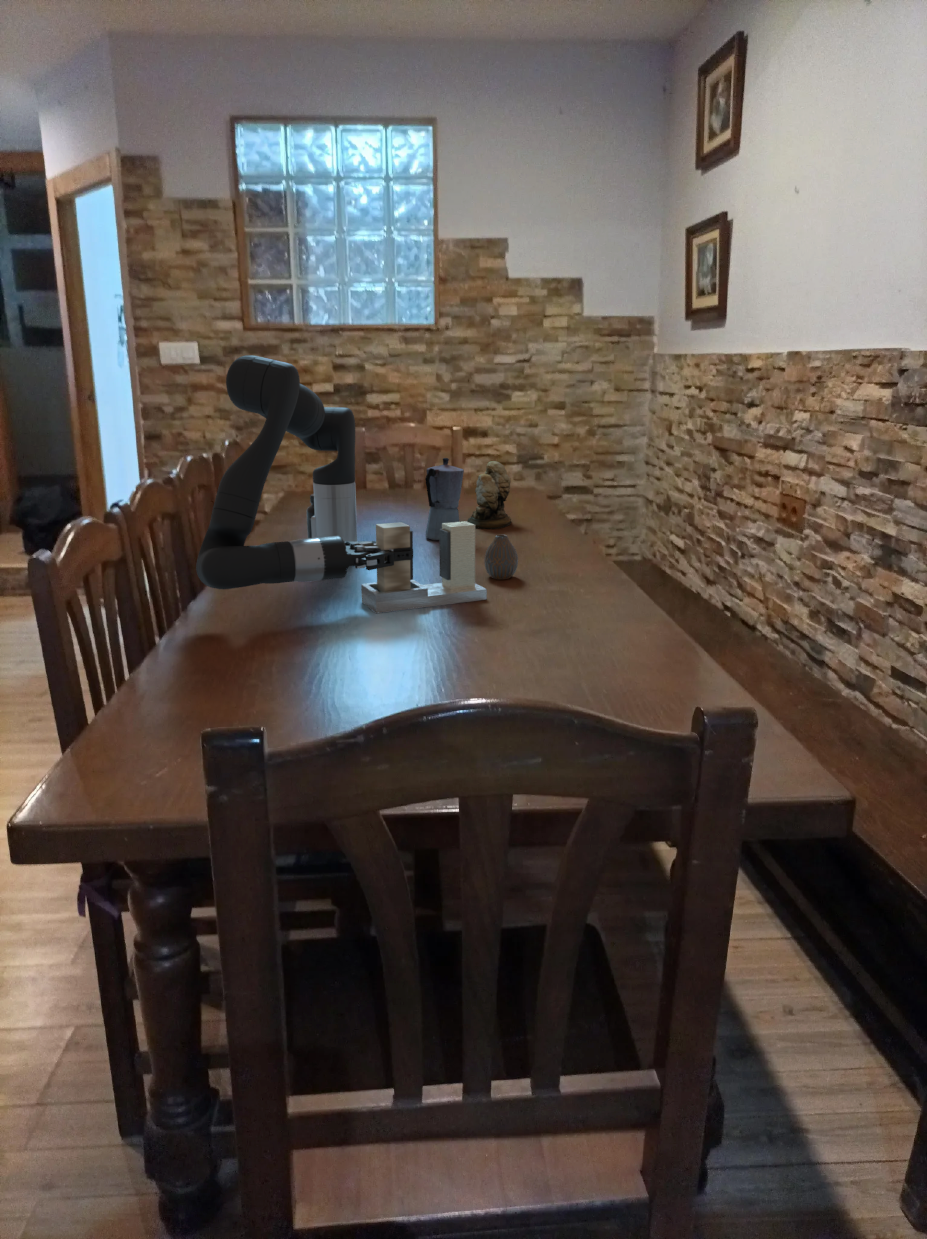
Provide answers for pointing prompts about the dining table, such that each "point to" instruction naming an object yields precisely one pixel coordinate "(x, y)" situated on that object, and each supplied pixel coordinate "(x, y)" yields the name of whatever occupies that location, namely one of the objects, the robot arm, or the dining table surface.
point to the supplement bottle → (310, 515)
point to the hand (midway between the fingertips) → (407, 550)
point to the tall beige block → (401, 570)
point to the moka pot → (442, 496)
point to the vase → (501, 558)
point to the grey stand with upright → (453, 570)
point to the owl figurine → (491, 498)
